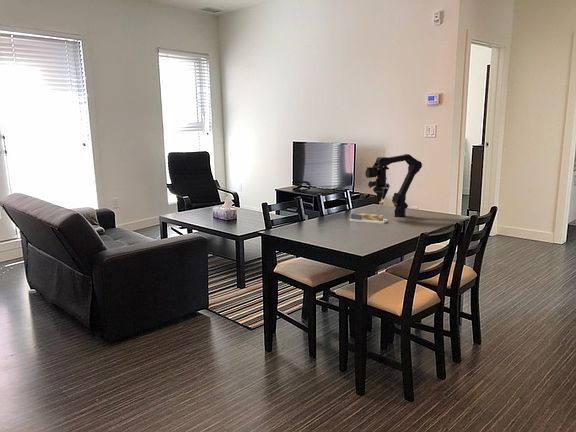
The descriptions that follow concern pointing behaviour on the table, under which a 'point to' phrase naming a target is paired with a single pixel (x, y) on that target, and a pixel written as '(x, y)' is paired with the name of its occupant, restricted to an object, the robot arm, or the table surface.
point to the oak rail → (370, 217)
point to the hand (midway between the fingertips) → (381, 200)
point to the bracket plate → (358, 219)
